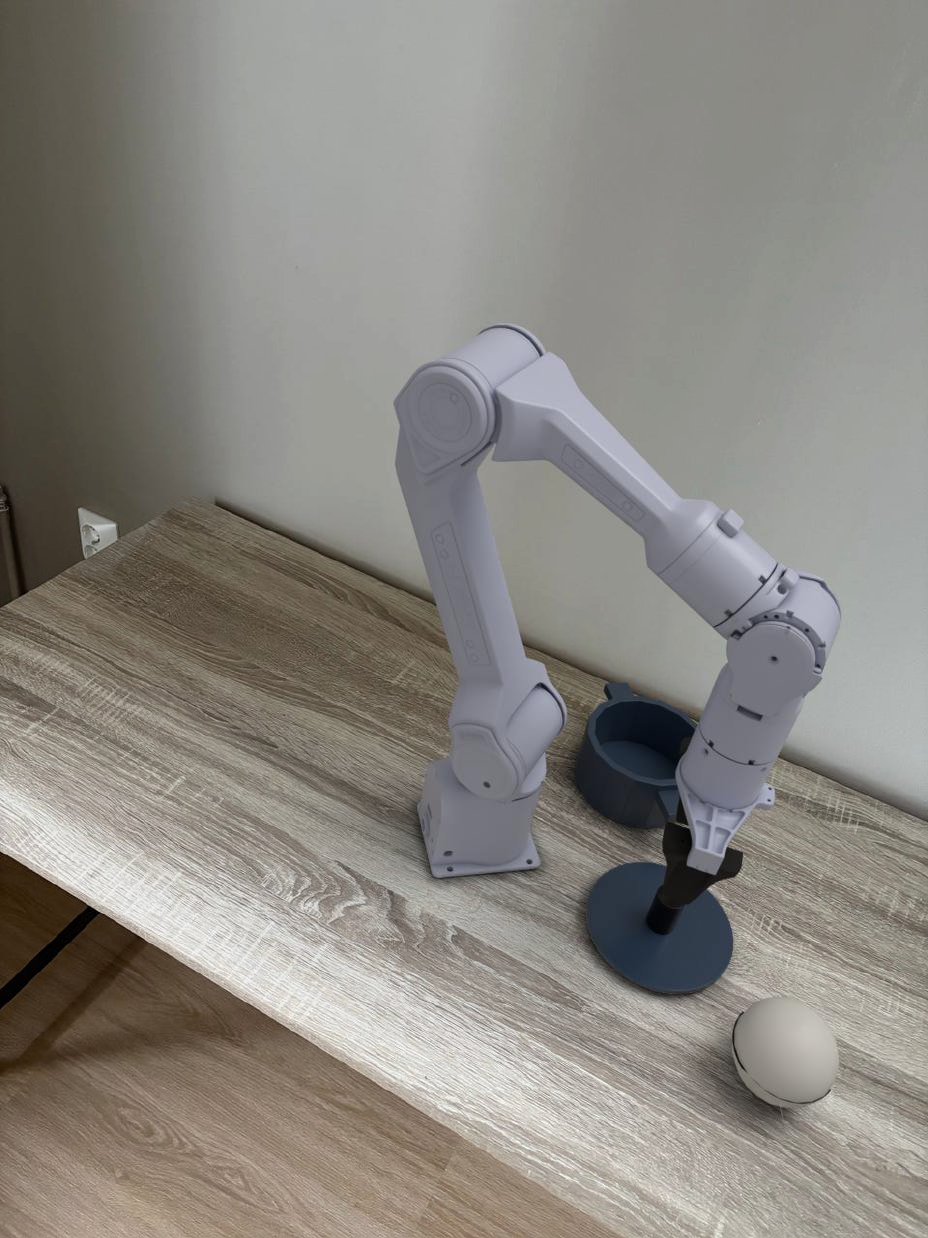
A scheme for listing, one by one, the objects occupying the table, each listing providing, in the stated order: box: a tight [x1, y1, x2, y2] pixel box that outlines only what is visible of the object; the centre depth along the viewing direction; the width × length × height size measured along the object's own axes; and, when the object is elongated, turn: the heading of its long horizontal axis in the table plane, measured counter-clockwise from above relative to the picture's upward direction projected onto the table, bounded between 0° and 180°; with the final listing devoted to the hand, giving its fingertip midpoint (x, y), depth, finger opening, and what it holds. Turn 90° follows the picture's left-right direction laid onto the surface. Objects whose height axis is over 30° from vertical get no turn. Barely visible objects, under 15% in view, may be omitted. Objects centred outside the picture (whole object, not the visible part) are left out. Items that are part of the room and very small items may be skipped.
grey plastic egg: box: [731, 996, 840, 1139], centre depth 69 cm, size 10×7×7 cm
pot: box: [574, 681, 698, 829], centre depth 92 cm, size 11×17×6 cm
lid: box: [585, 861, 734, 995], centre depth 80 cm, size 12×12×5 cm
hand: (683, 858), depth 76 cm, fingers open, 7 cm apart
